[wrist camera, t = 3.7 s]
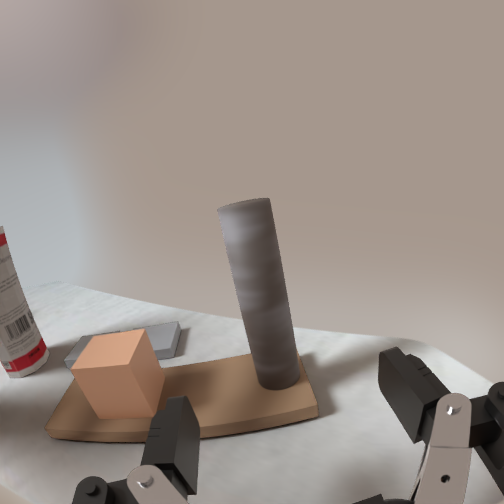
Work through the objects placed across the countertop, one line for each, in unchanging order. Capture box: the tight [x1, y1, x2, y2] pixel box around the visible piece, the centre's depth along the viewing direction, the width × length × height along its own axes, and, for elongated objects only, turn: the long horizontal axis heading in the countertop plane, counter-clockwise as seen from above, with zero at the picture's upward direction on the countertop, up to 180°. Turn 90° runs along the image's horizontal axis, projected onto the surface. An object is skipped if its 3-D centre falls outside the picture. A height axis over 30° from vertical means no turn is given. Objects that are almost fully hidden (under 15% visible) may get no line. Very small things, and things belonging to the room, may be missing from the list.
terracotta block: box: [70, 329, 165, 419], centre depth 21 cm, size 5×5×5 cm
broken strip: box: [64, 321, 181, 369], centre depth 32 cm, size 14×6×1 cm, turn 94°
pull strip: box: [45, 198, 319, 442], centre depth 20 cm, size 22×8×14 cm, turn 94°
